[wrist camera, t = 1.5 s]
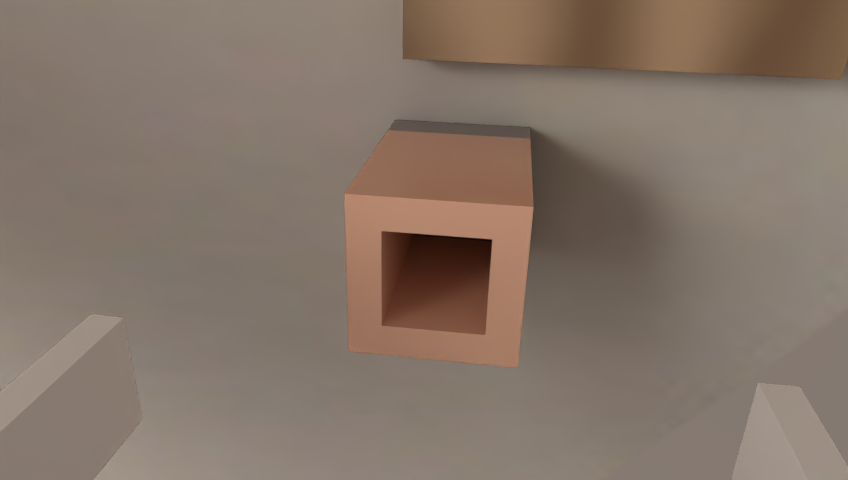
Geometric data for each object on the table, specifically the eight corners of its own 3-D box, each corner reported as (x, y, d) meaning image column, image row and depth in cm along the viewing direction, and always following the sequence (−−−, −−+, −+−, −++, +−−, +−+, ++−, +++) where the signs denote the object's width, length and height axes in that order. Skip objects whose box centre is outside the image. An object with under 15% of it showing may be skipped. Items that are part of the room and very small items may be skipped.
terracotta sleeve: (394, 241, 27) (348, 351, 20) (395, 119, 25) (344, 193, 18) (518, 250, 27) (517, 367, 19) (529, 127, 25) (533, 207, 17)
